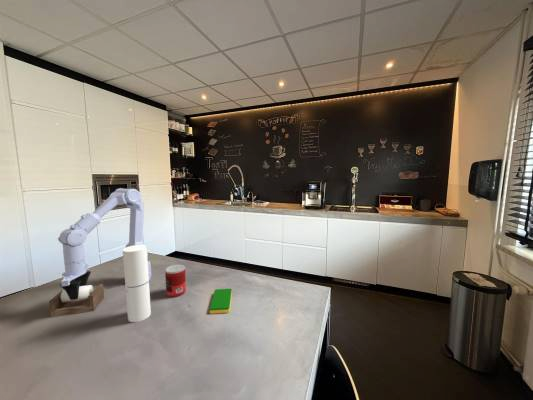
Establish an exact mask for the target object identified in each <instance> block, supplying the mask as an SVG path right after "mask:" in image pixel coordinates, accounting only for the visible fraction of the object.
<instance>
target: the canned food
mask: <svg viewBox="0 0 533 400" xmlns="http://www.w3.org/2000/svg"><path fill="white" fill-rule="evenodd" d="M164 272H165V273H164V274H165V275H164V276H165V290H166V295H167V297H169V298H177V297H179V296H183V295H184V294H185V292H186V290H187V282H186V279H187V278H186V267H185V265H184V264H172V265H170V266H168V267H166V268H165V269H164Z"/></svg>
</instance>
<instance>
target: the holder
mask: <svg viewBox="0 0 533 400" xmlns="http://www.w3.org/2000/svg"><path fill="white" fill-rule="evenodd" d="M62 291H63V289H62V290H60V292H59V293H57V294H55V295H54V296H53V297H52V298H51V299H49V301H48V303H49V312H50V318H54V317H62V316H68V315H75V314H82V313H88V312H95V310H96V309H97V307H98V306H99V305H100V304H101V303H102V301H103V300H104V299H105V292H104V284H103V283H99V284H98V285H97V287H95V289H93V292H92V293H91V294H90V295H89V299H85V300H77V301H70V302H62V301H61V293H62Z"/></svg>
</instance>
